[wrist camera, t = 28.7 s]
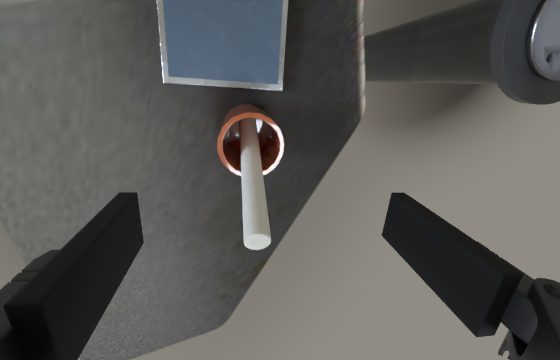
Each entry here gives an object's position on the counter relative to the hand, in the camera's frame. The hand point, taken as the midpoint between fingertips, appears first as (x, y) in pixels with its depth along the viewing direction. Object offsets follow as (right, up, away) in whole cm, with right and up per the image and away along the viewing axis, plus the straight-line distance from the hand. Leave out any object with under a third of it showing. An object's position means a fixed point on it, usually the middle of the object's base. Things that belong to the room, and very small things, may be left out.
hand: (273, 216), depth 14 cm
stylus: (-4, +11, +22) cm, 25 cm away
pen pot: (-4, +9, +23) cm, 25 cm away
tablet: (-6, +23, +17) cm, 30 cm away
